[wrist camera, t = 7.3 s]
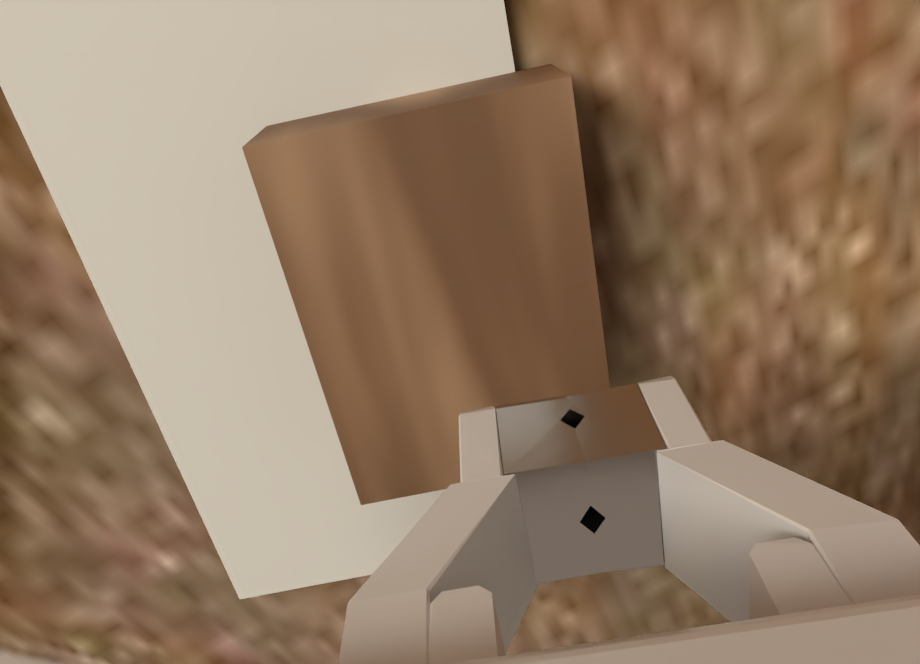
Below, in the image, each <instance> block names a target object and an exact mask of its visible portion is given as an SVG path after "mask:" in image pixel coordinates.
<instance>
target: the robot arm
mask: <svg viewBox="0 0 920 664" xmlns="http://www.w3.org/2000/svg"><path fill="white" fill-rule="evenodd" d="M459 450H460V483H456V484H451V485H449V487H448V488H447V489H446V490H445V491H444V492H443V494H442V495H441V496H440V497H439V498H438V499H437V500H436V502H435V503H434V504H433V505H432V506H431V507H430V509H429V510H428V511H427V512H426V513H425V514H424V515H423V517H422V518H421V519H420V520H419V521H418V522H417V523H416V525H415V526H414V527H413V528H412V529H411V530H410V532H409V533H408V534H407V535H406V536H405V537H404V538H403V540H402V541H401V542H400V543H399V544H398V545H397V547H396V548H395V549H394V550H393V551H392V552H391V553H390V555H389V556H388V557H387V558H386V559H385V560H384V562H383V563H382V564H381V565H380V566H379V567H378V568H377V570H376V571H375V572H374V573H373V574H372V575H371V577H370V578H369V579H368V580H367V581H366V582H365V583H364V585H363V586H362V587H361V588H360V589H359V590H358V591H357V593H356V594H355V595H354V596H353V597H352V598H351V600H350V601H349V602H348V606H347V612H346V618H345V624H344V631H343V637H342V643H341V650H340V656H339V662H338V664H920V545H919V544H918V543H917V542H916V540H915V539H914V538H913V537H912V536H911V534H910V533H909V532H908V531H907V530H906V528H905V527H904V526H903V525H902V523H901V522H900V521H899V520H898V519H896V518H894V517H892V516H890V515H887V514H885V513H883V512H881V511H879V510H876V509H874V508H872V507H870V506H868V505H865V504H863V503H861V502H859V501H856V500H854V499H852V498H850V497H848V496H845V495H843V494H841V493H839V492H837V491H834V490H832V489H830V488H828V487H826V486H823V485H821V484H819V483H817V482H815V481H812V480H810V479H808V478H806V477H804V476H801V475H799V474H797V473H795V472H793V471H790V470H788V469H786V468H784V467H781V466H779V465H777V464H775V463H773V462H770V461H768V460H766V459H764V458H762V457H759V456H757V455H755V454H753V453H751V452H748V451H746V450H744V449H742V448H740V447H737V446H735V445H733V444H731V443H729V442H726V441H724V440H720V441H713V442H712V440H711V439H710V437H709V435H708V434H707V432H706V430H705V428H704V427H703V425H702V423H701V421H700V420H699V418H698V416H697V415H696V413H695V411H694V409H693V408H692V406H691V404H690V403H689V401H688V399H687V397H686V396H685V394H684V392H683V390H682V389H681V387H680V385H679V384H678V382H677V380H676V378H674V377H672V376H666V377H661V378H656V379H651V380H646V381H642V382H637V383H633V384H628V385H623V386H618V387H613V388H607V389H602V390H597V391H592V392H587V393H582V394H577V395H571V396H559V397H552V398H545V399H539V400H532V401H525V402H519V403H512V404H505V405H498V406H496V408H495V407H494V406H490V407H485V408H479V409H474V410H468V411H462V412H460V415H459ZM659 565H665V568H666V569H668V570H669V571H670V572H671V573H672V574H674V575H675V576H676V577H677V578H678V579H680V580H681V581H682V582H683V583H684V584H685V585H687V586H688V587H689V588H690V589H691V590H693V591H694V592H695V593H696V594H697V595H699V596H700V597H701V598H702V599H703V600H705V601H706V602H707V603H708V604H709V605H711V606H712V607H713V608H714V609H715V610H717V611H718V612H719V613H720V614H721V615H722V616H724V617H725V618H726V619H727V620H728V621H730V622H728V623H721V624H714V625H708V626H701V627H694V628H687V629H680V630H674V631H667V632H660V633H653V634H647V635H640V636H633V637H626V638H620V639H613V640H606V641H599V642H593V643H586V644H579V645H572V646H565V647H558V648H551V649H544V650H538V651H531V652H524V653H517V654H510V655H506V651H507V649H508V647H509V645H510V642H511V640H512V638H513V636H514V634H515V632H516V630H517V628H518V626H519V624H520V622H521V620H522V618H523V616H524V614H525V612H526V610H527V607H528V605H529V603H530V601H531V599H532V597H533V595H534V593H535V591H536V589H537V585H536V584H541V583H546V582H552V581H557V580H563V579H568V578H574V577H579V576H585V575H591V574H596V573H603V572H611V571H619V570H627V569H635V568H643V567H651V566H659ZM599 571H600V572H599Z"/></svg>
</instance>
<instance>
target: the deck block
mask: <svg viewBox="0 0 920 664" xmlns="http://www.w3.org/2000/svg"><path fill="white" fill-rule="evenodd" d="M242 149H243V152H244V155H245V158H246V161H247V164H248V167H249V170H250V173H251V176H252V179H253V182H254V185H255V188H256V191H257V194H258V197H259V200H260V203H261V206H262V209H263V212H264V215H265V218H266V221H267V224H268V227H269V230H270V233H271V236H272V239H273V242H274V245H275V248H276V251H277V254H278V257H279V260H280V263H281V266H282V269H283V272H284V275H285V278H286V281H287V284H288V287H289V290H290V293H291V296H292V299H293V302H294V305H295V308H296V311H297V314H298V317H299V320H300V323H301V326H302V329H303V332H304V335H305V338H306V341H307V344H308V348H309V351H310V354H311V357H312V360H313V363H314V366H315V369H316V372H317V375H318V378H319V381H320V384H321V387H322V390H323V393H324V396H325V399H326V402H327V405H328V408H329V411H330V414H331V417H332V420H333V423H334V426H335V429H336V432H337V435H338V438H339V441H340V444H341V447H342V450H343V453H344V456H345V459H346V462H347V465H348V468H349V471H350V474H351V477H352V480H353V483H354V486H355V489H356V492H357V495H358V498H359V501H360V504H361V505H365V504H370V503H375V502H380V501H386V500H391V499H396V498H401V497H407V496H412V495H417V494H422V493H427V492H433V491H438V490H443V489H447V488H448V487H449V485H451V484H456V483H460V450H459V415H460V412H462V411H468V410H474V409H479V408H485V407H490V406H494V407H495V408H496V406H498V405H505V404H512V403H519V402H525V401H532V400H539V399H545V398H552V397H559V396H571V395H577V394H582V393H587V392H592V391H597V390H602V389H607V388H610V381H609V373H608V365H607V357H606V349H605V341H604V333H603V325H602V317H601V309H600V301H599V293H598V285H597V277H596V269H595V262H594V254H593V246H592V238H591V230H590V222H589V214H588V206H587V198H586V190H585V182H584V174H583V166H582V158H581V150H580V142H579V134H578V126H577V118H576V110H575V102H574V94H573V86H572V78H571V76H570V75H569V74H567V73H565V72H564V71H562V70H560V69H559V68H557V67H555V66H554V65H552V64H549V65H544V66H540V67H535V68H530V69H526V70H521V71H517V72H512V73H508V74H503V75H498V76H494V77H489V78H485V79H480V80H475V81H471V82H466V83H462V84H457V85H452V86H448V87H443V88H439V89H434V90H429V91H425V92H420V93H416V94H411V95H406V96H402V97H397V98H393V99H388V100H383V101H379V102H374V103H370V104H365V105H360V106H356V107H351V108H347V109H342V110H337V111H333V112H328V113H324V114H319V115H314V116H310V117H305V118H301V119H296V120H291V121H287V122H282V123H278V124H273V125H268V126H266V127H265V128H264V129H262V130H261V131H260V132H259V133H258V134H257V135H256V136H254V137H253V138H252V139H251V140H250V141H249V142H248V143H246V144H245V145H244V146H243V147H242Z"/></svg>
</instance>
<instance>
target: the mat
mask: <svg viewBox="0 0 920 664" xmlns="http://www.w3.org/2000/svg"><path fill="white" fill-rule="evenodd" d="M512 72H515V67H514V61H513V55H512V48H511V42H510V36H509V30H508V23H507V17H506V11H505V5H504V0H0V86H1V88H2V90H3V92H4V94H5V97H6V99H7V101H8V103H9V105H10V107H11V110H12V112H13V114H14V116H15V118H16V120H17V122H18V125H19V127H20V129H21V131H22V133H23V135H24V137H25V140H26V142H27V144H28V146H29V148H30V150H31V152H32V155H33V157H34V159H35V161H36V163H37V165H38V167H39V170H40V172H41V174H42V176H43V178H44V180H45V182H46V185H47V187H48V189H49V191H50V193H51V195H52V198H53V200H54V202H55V204H56V206H57V208H58V210H59V213H60V215H61V217H62V219H63V221H64V223H65V225H66V228H67V230H68V232H69V234H70V236H71V238H72V240H73V243H74V245H75V247H76V249H77V251H78V253H79V255H80V258H81V260H82V262H83V264H84V266H85V268H86V271H87V273H88V275H89V277H90V279H91V281H92V283H93V286H94V288H95V290H96V292H97V294H98V296H99V298H100V301H101V303H102V305H103V307H104V309H105V311H106V313H107V316H108V318H109V320H110V322H111V324H112V326H113V328H114V331H115V333H116V335H117V337H118V339H119V341H120V344H121V346H122V348H123V350H124V352H125V354H126V356H127V359H128V361H129V363H130V365H131V367H132V369H133V371H134V374H135V376H136V378H137V380H138V382H139V384H140V386H141V389H142V391H143V393H144V395H145V397H146V399H147V401H148V404H149V406H150V408H151V410H152V412H153V414H154V417H155V419H156V421H157V423H158V425H159V427H160V429H161V432H162V434H163V436H164V438H165V440H166V442H167V444H168V447H169V449H170V451H171V453H172V455H173V457H174V459H175V462H176V464H177V466H178V468H179V470H180V472H181V474H182V477H183V479H184V481H185V483H186V485H187V487H188V490H189V492H190V494H191V496H192V498H193V500H194V502H195V505H196V507H197V509H198V511H199V513H200V515H201V517H202V520H203V522H204V524H205V526H206V528H207V530H208V532H209V535H210V537H211V539H212V541H213V543H214V545H215V547H216V550H217V552H218V554H219V556H220V558H221V560H222V563H223V565H224V567H225V569H226V571H227V573H228V575H229V578H230V580H231V582H232V584H233V586H234V588H235V590H236V593H237V595H238V597H239V599H244V598H249V597H255V596H260V595H265V594H271V593H276V592H281V591H287V590H292V589H297V588H302V587H308V586H313V585H318V584H324V583H329V582H334V581H340V580H345V579H350V578H355V577H361V576H366V575H371V574H373V573H374V572H375V571H376V570H377V568H378V567H379V566H380V565H381V564H382V563H383V562H384V560H385V559H386V558H387V557H388V556H389V555H390V553H391V552H392V551H393V550H394V549H395V548H396V547H397V545H398V544H399V543H400V542H401V541H402V540H403V538H404V537H405V536H406V535H407V534H408V533H409V532H410V530H411V529H412V528H413V527H414V526H415V525H416V523H417V522H418V521H419V520H420V519H421V518H422V517H423V515H424V514H425V513H426V512H427V511H428V510H429V509H430V507H431V506H432V505H433V504H434V503H435V502H436V500H437V499H438V498H439V497H440V496H441V495H442V494H443V492H444V491H445V490H446V489H443V490H438V491H433V492H427V493H422V494H417V495H412V496H407V497H401V498H396V499H391V500H386V501H380V502H375V503H370V504H365V505H361V504H360V501H359V498H358V495H357V492H356V489H355V486H354V483H353V480H352V477H351V474H350V471H349V468H348V465H347V462H346V459H345V456H344V453H343V450H342V447H341V444H340V441H339V438H338V435H337V432H336V429H335V426H334V423H333V420H332V417H331V414H330V411H329V408H328V405H327V402H326V399H325V396H324V393H323V390H322V387H321V384H320V381H319V378H318V375H317V372H316V369H315V366H314V363H313V360H312V357H311V354H310V351H309V348H308V344H307V341H306V338H305V335H304V332H303V329H302V326H301V323H300V320H299V317H298V314H297V311H296V308H295V305H294V302H293V299H292V296H291V293H290V290H289V287H288V284H287V281H286V278H285V275H284V272H283V269H282V266H281V263H280V260H279V257H278V254H277V251H276V248H275V245H274V242H273V239H272V236H271V233H270V230H269V227H268V224H267V221H266V218H265V215H264V212H263V209H262V206H261V203H260V200H259V197H258V194H257V191H256V188H255V185H254V182H253V179H252V176H251V173H250V170H249V167H248V164H247V161H246V158H245V155H244V152H243V149H242V147H243V146H244V145H245V144H246V143H248V142H249V141H250V140H251V139H252V138H253V137H254V136H256V135H257V134H258V133H259V132H260V131H261V130H262V129H264V128H265V127H266V126H268V125H273V124H278V123H282V122H287V121H291V120H296V119H301V118H305V117H310V116H314V115H319V114H324V113H328V112H333V111H337V110H342V109H347V108H351V107H356V106H360V105H365V104H370V103H374V102H379V101H383V100H388V99H393V98H397V97H402V96H406V95H411V94H416V93H420V92H425V91H429V90H434V89H439V88H443V87H448V86H452V85H457V84H462V83H466V82H471V81H475V80H480V79H485V78H489V77H494V76H498V75H503V74H508V73H512Z"/></svg>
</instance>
